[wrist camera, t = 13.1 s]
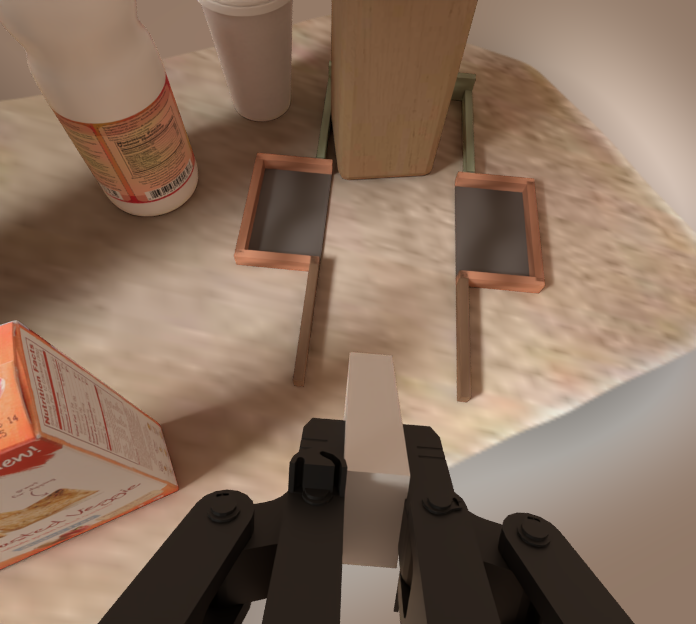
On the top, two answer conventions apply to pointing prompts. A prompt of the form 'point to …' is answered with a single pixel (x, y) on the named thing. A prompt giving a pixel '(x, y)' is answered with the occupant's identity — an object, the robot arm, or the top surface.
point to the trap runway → (470, 227)
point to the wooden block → (393, 82)
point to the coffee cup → (254, 53)
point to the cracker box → (68, 449)
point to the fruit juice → (109, 97)
